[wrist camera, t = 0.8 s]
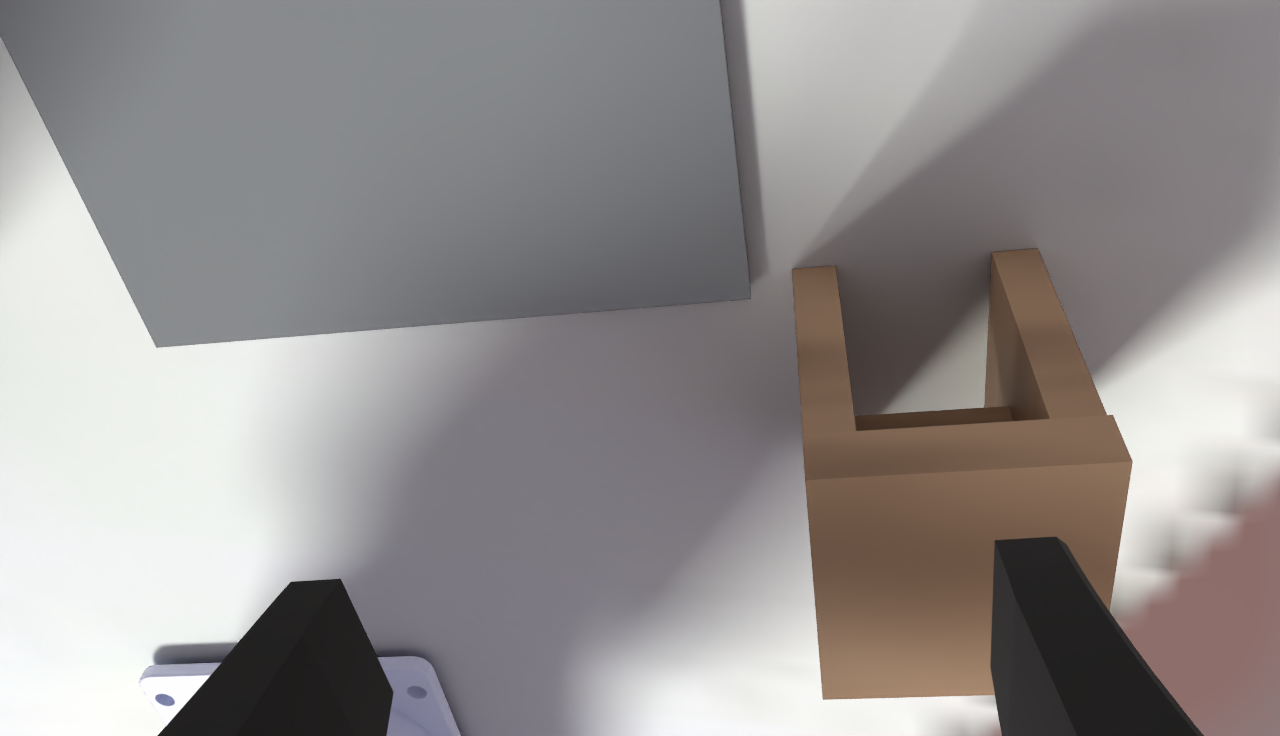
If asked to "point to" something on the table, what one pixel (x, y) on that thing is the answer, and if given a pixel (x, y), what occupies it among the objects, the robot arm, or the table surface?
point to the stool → (948, 490)
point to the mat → (392, 157)
